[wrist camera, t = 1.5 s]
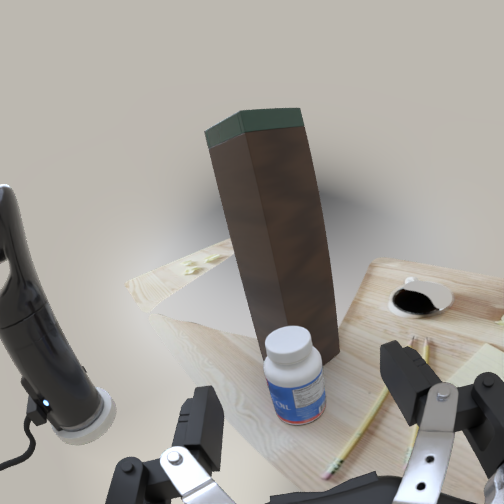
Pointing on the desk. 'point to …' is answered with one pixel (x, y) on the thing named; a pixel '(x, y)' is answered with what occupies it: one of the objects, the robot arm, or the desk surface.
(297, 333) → the pill bottle
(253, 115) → the socket
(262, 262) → the stand
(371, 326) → the desk surface
